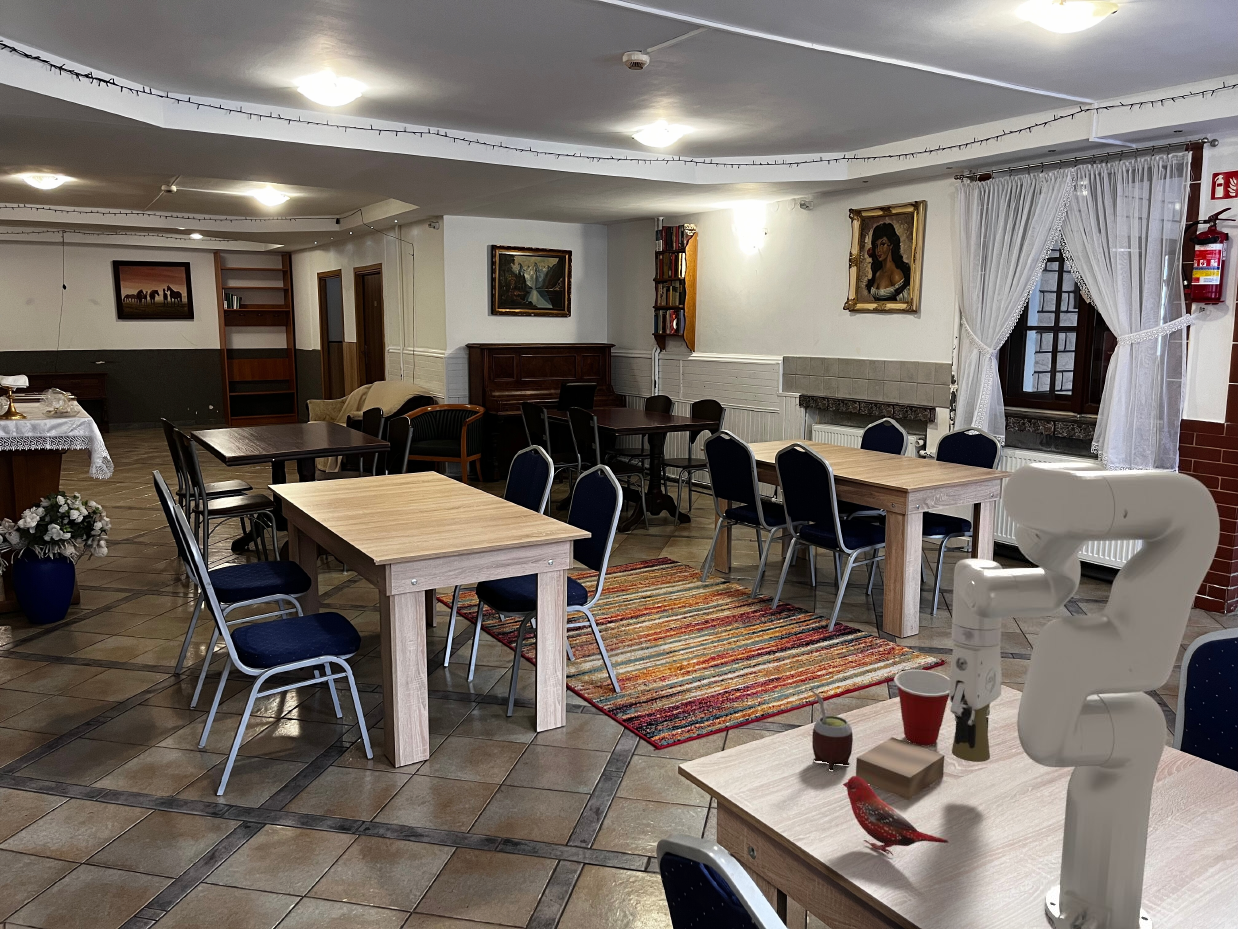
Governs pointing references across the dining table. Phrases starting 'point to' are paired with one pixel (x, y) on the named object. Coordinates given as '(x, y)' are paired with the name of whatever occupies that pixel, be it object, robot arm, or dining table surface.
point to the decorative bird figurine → (882, 818)
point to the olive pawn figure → (981, 741)
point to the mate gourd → (831, 738)
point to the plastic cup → (922, 704)
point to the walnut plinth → (900, 768)
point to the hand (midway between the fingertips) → (971, 740)
